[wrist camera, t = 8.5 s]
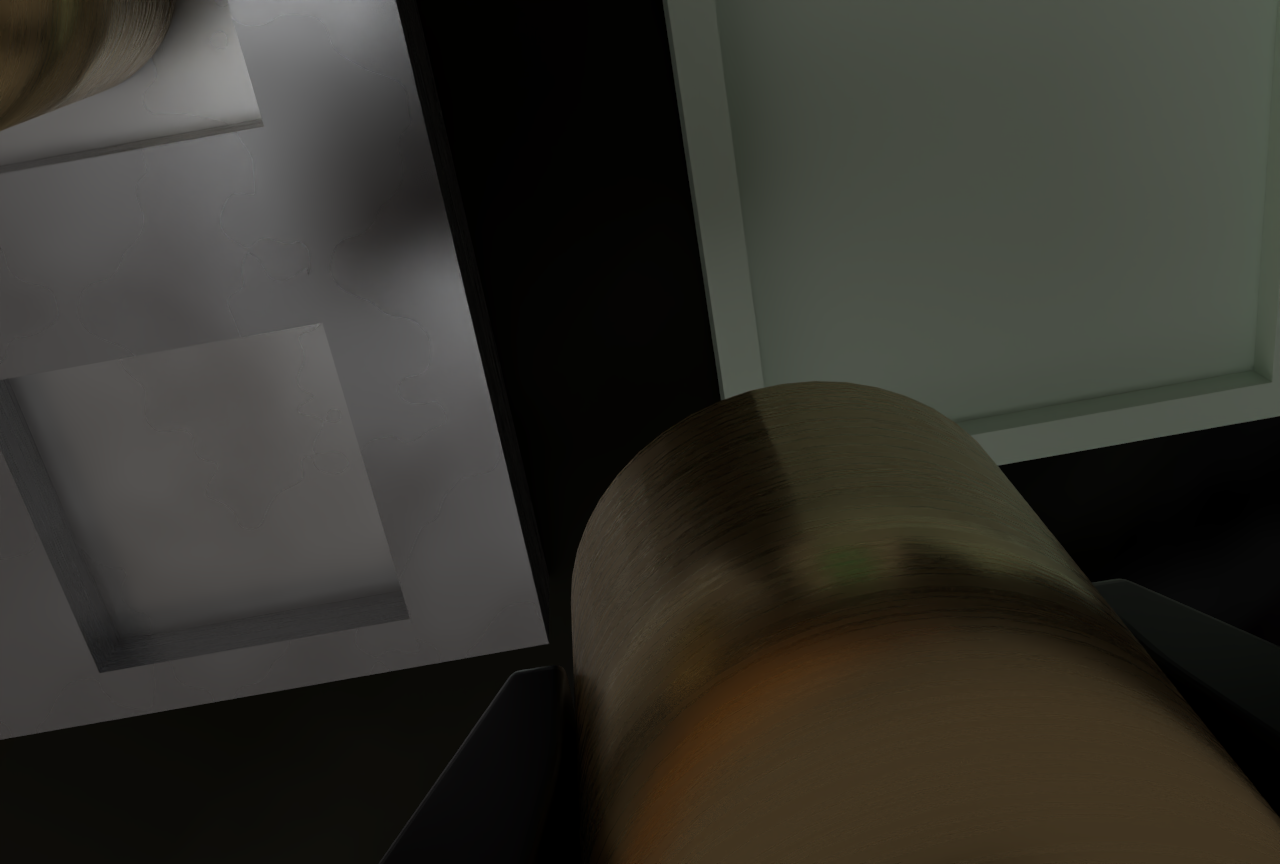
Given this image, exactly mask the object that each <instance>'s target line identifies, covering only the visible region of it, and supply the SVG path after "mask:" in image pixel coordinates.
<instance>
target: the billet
mask: <svg viewBox="0 0 1280 864" xmlns="http://www.w3.org/2000/svg"><path fill="white" fill-rule="evenodd" d="M571 615H572V642H573V669H574V696H575V722H576V749H577V776H578V803H579V830H580V856H581V864H1280V817H1279V816H1278V815H1277V813H1276V812H1275V811H1274V810H1273V808H1272V807H1271V806H1270V805H1269V803H1268V802H1267V801H1266V800H1265V798H1264V797H1263V796H1262V795H1261V793H1260V792H1259V791H1258V790H1257V788H1256V787H1255V786H1254V785H1253V783H1252V782H1251V781H1250V780H1249V778H1248V777H1247V776H1246V775H1245V773H1244V772H1243V771H1242V770H1241V768H1240V767H1239V766H1238V765H1237V763H1236V762H1235V761H1234V760H1233V759H1232V757H1231V756H1230V755H1229V754H1228V752H1227V751H1226V750H1225V749H1224V747H1223V746H1222V745H1221V744H1220V742H1219V741H1218V740H1217V739H1216V737H1215V736H1214V735H1213V734H1212V732H1211V731H1210V730H1209V729H1208V727H1207V726H1206V725H1205V724H1204V722H1203V721H1202V720H1201V719H1200V717H1199V716H1198V715H1197V714H1196V712H1195V711H1194V710H1193V709H1192V707H1191V706H1190V705H1189V704H1188V702H1187V701H1186V700H1185V699H1184V697H1183V696H1182V695H1181V694H1180V693H1179V691H1178V690H1177V689H1176V688H1175V686H1174V685H1173V684H1172V683H1171V681H1170V680H1169V679H1168V678H1167V676H1166V675H1165V674H1164V673H1163V671H1162V670H1161V669H1160V668H1159V666H1158V665H1157V664H1156V663H1155V661H1154V660H1153V659H1152V658H1151V656H1150V655H1149V654H1148V653H1147V651H1146V650H1145V649H1144V648H1143V646H1142V645H1141V644H1140V643H1139V641H1138V640H1137V639H1136V638H1135V636H1134V635H1133V634H1132V633H1131V631H1130V630H1129V629H1128V628H1127V626H1126V625H1125V624H1124V623H1123V622H1122V620H1121V619H1120V618H1119V617H1118V615H1117V614H1116V613H1115V612H1114V610H1113V609H1112V608H1111V607H1110V605H1109V604H1108V603H1107V602H1106V600H1105V599H1104V598H1103V597H1102V595H1101V594H1100V593H1099V592H1098V590H1097V589H1096V588H1095V587H1094V585H1093V584H1092V583H1091V582H1090V580H1089V579H1088V578H1087V577H1086V575H1085V574H1084V573H1083V572H1082V570H1081V569H1080V568H1079V567H1078V565H1077V564H1076V563H1075V562H1074V560H1073V559H1072V558H1071V557H1070V556H1069V554H1068V553H1067V552H1066V551H1065V549H1064V548H1063V547H1062V546H1061V544H1060V543H1059V542H1058V541H1057V539H1056V538H1055V537H1054V536H1053V534H1052V533H1051V532H1050V531H1049V529H1048V528H1047V527H1046V526H1045V524H1044V523H1043V522H1042V521H1041V519H1040V518H1039V517H1038V516H1037V514H1036V513H1035V512H1034V511H1033V509H1032V508H1031V507H1030V506H1029V504H1028V503H1027V502H1026V501H1025V499H1024V498H1023V497H1022V496H1021V494H1020V493H1019V492H1018V491H1017V490H1016V488H1015V487H1014V486H1013V485H1012V483H1011V482H1010V481H1009V480H1008V478H1007V477H1006V476H1005V475H1004V473H1003V472H1002V471H1001V470H1000V468H999V467H998V466H997V465H996V463H995V462H994V461H993V460H992V459H991V457H990V456H989V455H988V454H987V453H986V451H985V450H984V449H983V448H982V447H981V445H980V444H979V443H978V442H977V441H976V440H975V439H974V438H973V437H972V436H970V435H969V434H968V433H967V432H966V431H965V430H964V429H962V428H961V427H960V426H959V425H958V424H957V423H955V422H954V421H952V420H951V419H949V418H947V417H946V416H944V415H943V414H941V413H940V412H938V411H937V410H935V409H934V408H932V407H929V406H927V405H925V404H923V403H921V402H918V401H916V400H914V399H912V398H910V397H908V396H905V395H902V394H898V393H895V392H892V391H888V390H885V389H882V388H878V387H873V386H867V385H861V384H855V383H849V382H828V381H809V382H798V383H787V384H779V385H775V386H770V387H765V388H760V389H756V390H751V391H748V392H745V393H742V394H739V395H736V396H733V397H730V398H727V399H724V400H721V401H719V402H716V403H714V404H712V405H710V406H708V407H706V408H704V409H702V410H700V411H698V412H696V413H693V414H691V415H689V416H688V417H686V418H685V419H683V420H682V421H680V422H678V423H677V424H675V425H674V426H672V427H671V428H669V429H667V430H666V431H664V432H663V433H662V434H660V435H659V436H658V437H657V438H655V439H654V440H653V441H652V442H651V443H649V444H648V445H647V446H646V447H645V448H643V449H642V450H641V451H640V452H639V453H638V454H637V455H636V456H635V457H634V458H633V459H632V460H631V461H630V462H629V463H628V464H627V465H626V466H625V467H624V468H623V469H622V471H621V472H620V473H619V474H618V475H617V476H616V478H615V479H614V480H613V482H612V483H611V485H610V486H609V487H608V489H607V490H606V492H605V493H604V494H603V496H602V497H601V498H600V500H599V502H598V504H597V506H596V508H595V510H594V512H593V513H592V515H591V517H590V519H589V521H588V523H587V525H586V528H585V531H584V533H583V536H582V539H581V542H580V544H579V547H578V550H577V555H576V560H575V565H574V570H573V575H572V592H571Z"/></svg>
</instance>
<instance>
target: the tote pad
mask: <svg viewBox="0 0 1280 864" xmlns="http://www.w3.org/2000/svg"><path fill="white" fill-rule="evenodd" d="M663 7H664V14H665V21H666V28H667V34H668V41H669V48H670V55H671V62H672V69H673V75H674V82H675V89H676V96H677V103H678V110H679V116H680V123H681V130H682V137H683V144H684V151H685V158H686V164H687V171H688V178H689V185H690V192H691V199H692V205H693V212H694V219H695V226H696V233H697V240H698V246H699V253H700V260H701V267H702V274H703V281H704V287H705V294H706V301H707V308H708V315H709V322H710V328H711V335H712V342H713V349H714V356H715V363H716V370H717V376H718V383H719V390H720V397H721V400H724V399H727V398H730V397H733V396H736V395H739V394H742V393H745V392H748V391H751V390H756V389H760V388H765V387H770V386H775V385H779V384H787V383H798V382H809V381H828V382H849V383H855V384H861V385H867V386H873V387H878V388H882V389H885V390H888V391H892V392H895V393H898V394H902V395H905V396H908V397H910V398H912V399H914V400H916V401H918V402H921V403H923V404H925V405H927V406H929V407H932V408H934V409H935V410H937V411H938V412H940V413H941V414H943V415H944V416H946V417H947V418H949V419H951V420H952V421H954V422H955V423H957V424H958V425H959V426H960V427H961V428H962V429H964V430H965V431H966V432H967V433H968V434H969V435H970V436H972V437H973V438H974V439H975V440H976V441H977V442H978V443H979V444H980V445H981V447H982V448H983V449H984V450H985V451H986V453H987V454H988V455H989V456H990V457H991V459H992V460H993V461H994V462H995V463H996V465H997V466H998V465H1004V464H1009V463H1015V462H1021V461H1026V460H1032V459H1038V458H1043V457H1049V456H1055V455H1060V454H1066V453H1072V452H1077V451H1083V450H1089V449H1095V448H1100V447H1106V446H1112V445H1117V444H1123V443H1129V442H1134V441H1140V440H1146V439H1151V438H1157V437H1163V436H1168V435H1174V434H1180V433H1185V432H1191V431H1197V430H1203V429H1208V428H1214V427H1220V426H1225V425H1231V424H1237V423H1242V422H1248V421H1254V420H1259V419H1265V418H1271V417H1276V416H1280V0H663Z"/></svg>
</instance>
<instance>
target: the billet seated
mask: <svg viewBox="0 0 1280 864" xmlns="http://www.w3.org/2000/svg"><path fill="white" fill-rule="evenodd" d="M175 3H176V0H0V131H2V130H5V129H8V128H10V127H13V126H15V125H18V124H20V123H23V122H26V121H28V120H31V119H33V118H36V117H39V116H41V115H44V114H46V113H49V112H52V111H54V110H57V109H59V108H62V107H64V106H67V105H70V104H72V103H75V102H77V101H80V100H83V99H85V98H88V97H90V96H93V95H96V94H98V93H101V92H103V91H105V90H108V89H110V88H112V87H115V86H117V85H118V84H120V83H122V82H123V81H125V80H127V79H128V78H130V77H131V76H132V75H134V74H135V73H136V72H137V71H138V70H139V69H141V68H142V67H143V66H144V65H145V64H146V62H147V61H148V60H149V59H150V58H151V57H152V55H153V54H154V53H155V51H156V50H157V48H158V47H159V45H160V43H161V42H162V40H163V39H164V36H165V34H166V32H167V29H168V27H169V25H170V22H171V19H172V15H173V11H174V8H175Z"/></svg>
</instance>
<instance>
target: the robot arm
mask: <svg viewBox="0 0 1280 864" xmlns="http://www.w3.org/2000/svg"><path fill="white" fill-rule="evenodd" d="M1092 584H1093V585H1094V587H1095V588H1096V589H1097V590H1098V592H1099V593H1100V594H1101V595H1102V597H1103V598H1104V599H1105V600H1106V602H1107V603H1108V604H1109V605H1110V607H1111V608H1112V609H1113V610H1114V612H1115V613H1116V614H1117V615H1118V617H1119V618H1120V619H1121V620H1122V622H1123V623H1124V624H1125V625H1126V626H1127V628H1128V629H1129V630H1130V631H1131V633H1132V634H1133V635H1134V636H1135V638H1136V639H1137V640H1138V641H1139V643H1140V644H1141V645H1142V646H1143V648H1144V649H1145V650H1146V651H1147V653H1148V654H1149V655H1150V656H1151V658H1152V659H1153V660H1154V661H1155V663H1156V664H1157V665H1158V666H1159V668H1160V669H1161V670H1162V671H1163V673H1164V674H1165V675H1166V676H1167V678H1168V679H1169V680H1170V681H1171V683H1172V684H1173V685H1174V686H1175V688H1176V689H1177V690H1178V691H1179V693H1180V694H1181V695H1182V696H1183V697H1184V699H1185V700H1186V701H1187V702H1188V704H1189V705H1190V706H1191V707H1192V709H1193V710H1194V711H1195V712H1196V714H1197V715H1198V716H1199V717H1200V719H1201V720H1202V721H1203V722H1204V724H1205V725H1206V726H1207V727H1208V729H1209V730H1210V731H1211V732H1212V734H1213V735H1214V736H1215V737H1216V739H1217V740H1218V741H1219V742H1220V744H1221V745H1222V746H1223V747H1224V749H1225V750H1226V751H1227V752H1228V754H1229V755H1230V756H1231V757H1232V759H1233V760H1234V761H1235V762H1236V763H1237V765H1238V766H1239V767H1240V768H1241V770H1242V771H1243V772H1244V773H1245V775H1246V776H1247V777H1248V778H1249V780H1250V781H1251V782H1252V783H1253V785H1254V786H1255V787H1256V788H1257V790H1258V791H1259V792H1260V793H1261V795H1262V796H1263V797H1264V798H1265V800H1266V801H1267V802H1268V803H1269V805H1270V806H1271V807H1272V808H1273V810H1274V811H1275V812H1276V813H1277V815H1278V816H1279V817H1280V646H1277V645H1275V644H1273V643H1270V642H1268V641H1266V640H1264V639H1261V638H1259V637H1257V636H1254V635H1252V634H1250V633H1248V632H1245V631H1243V630H1241V629H1238V628H1236V627H1234V626H1232V625H1229V624H1227V623H1225V622H1222V621H1220V620H1218V619H1216V618H1213V617H1211V616H1209V615H1207V614H1204V613H1202V612H1200V611H1197V610H1195V609H1193V608H1191V607H1188V606H1186V605H1184V604H1181V603H1179V602H1177V601H1175V600H1172V599H1170V598H1168V597H1165V596H1163V595H1161V594H1159V593H1156V592H1154V591H1152V590H1149V589H1147V588H1145V587H1143V586H1140V585H1138V584H1136V583H1133V582H1131V581H1128V580H1126V579H1113V580H1107V581H1100V582H1094V583H1092ZM379 864H581V856H580V830H579V803H578V776H577V749H576V722H575V713H574V708H573V703H572V697H571V692H570V687H569V682H568V678H567V674H566V672H565V670H564V669H563V667H561V666H559V665H553V666H547V667H540V668H533V669H527V670H520V671H516V672H514V673H513V674H512V675H511V676H510V677H509V678H508V679H507V681H506V682H505V684H504V685H503V687H502V688H501V689H500V691H499V692H498V694H497V695H496V697H495V698H494V699H493V701H492V702H491V704H490V705H489V707H488V708H487V709H486V711H485V712H484V714H483V715H482V717H481V718H480V719H479V721H478V722H477V724H476V725H475V727H474V728H473V729H472V731H471V732H470V734H469V735H468V737H467V738H466V739H465V741H464V742H463V744H462V745H461V747H460V748H459V749H458V751H457V752H456V754H455V755H454V757H453V758H452V759H451V761H450V762H449V764H448V765H447V767H446V768H445V769H444V771H443V772H442V774H441V775H440V777H439V778H438V779H437V781H436V782H435V784H434V785H433V787H432V788H431V789H430V791H429V792H428V794H427V795H426V797H425V798H424V799H423V801H422V802H421V804H420V805H419V807H418V808H417V809H416V811H415V812H414V814H413V815H412V816H411V818H410V819H409V821H408V822H407V824H406V825H405V826H404V828H403V829H402V831H401V832H400V834H399V835H398V836H397V838H396V839H395V841H394V842H393V844H392V845H391V846H390V848H389V849H388V851H387V852H386V854H385V855H384V856H383V858H382V859H381V861H380V862H379Z"/></svg>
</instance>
